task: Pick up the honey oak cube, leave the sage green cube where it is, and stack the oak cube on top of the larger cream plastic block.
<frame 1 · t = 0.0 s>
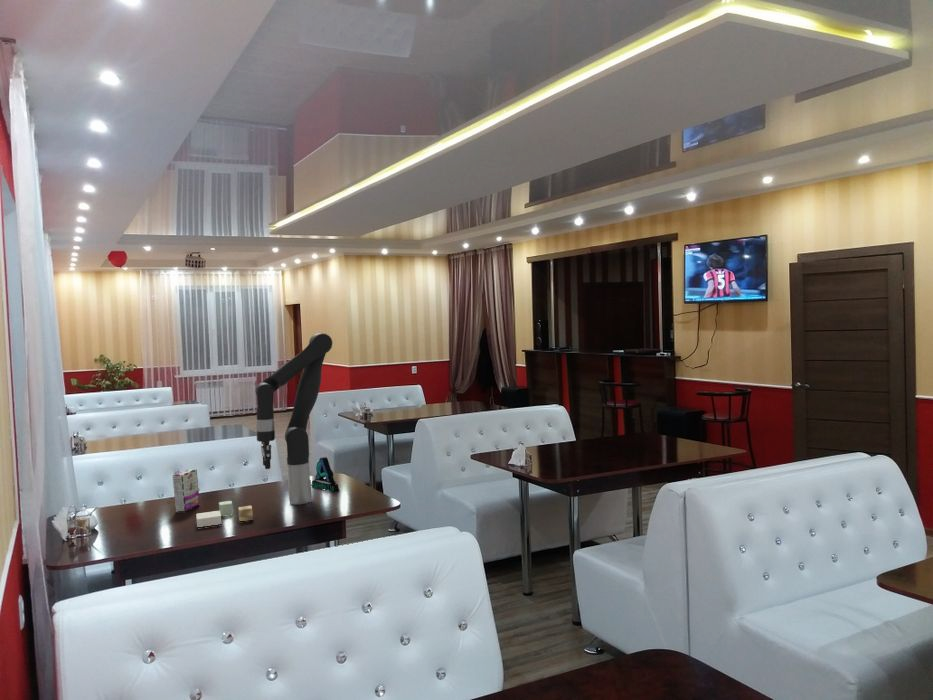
hand: (266, 467, 303), 17 cm above the table, tool pointing down, fingers open, 8 cm apart
cream block: (209, 524, 282), on the table
candy bar box: (187, 509, 307), on the table
decorative sign: (325, 489, 330), on the table
oak cube: (246, 519, 285), on the table
sage cube: (226, 514, 294), on the table
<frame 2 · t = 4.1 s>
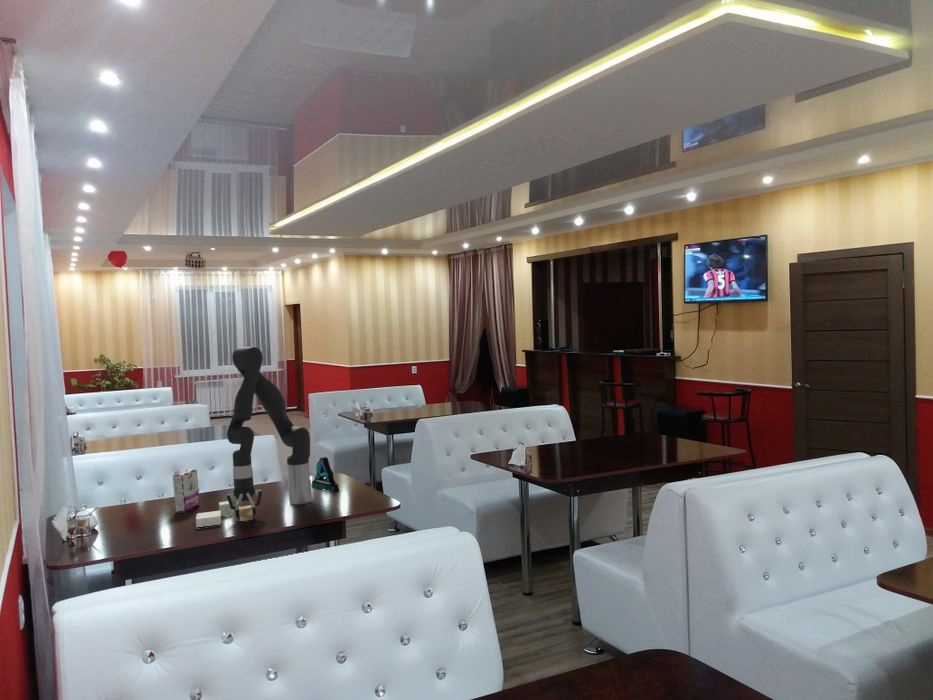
hand: (245, 517, 285), 1 cm above the table, tool pointing down, fingers closed on oak cube, 5 cm apart
oak cube: (246, 519, 285), on the table, touching gripper
everything else where it was.
when the fingers open (6 cm above the table, at t = 8.9 s): oak cube drops 1 cm, resting on cream block.
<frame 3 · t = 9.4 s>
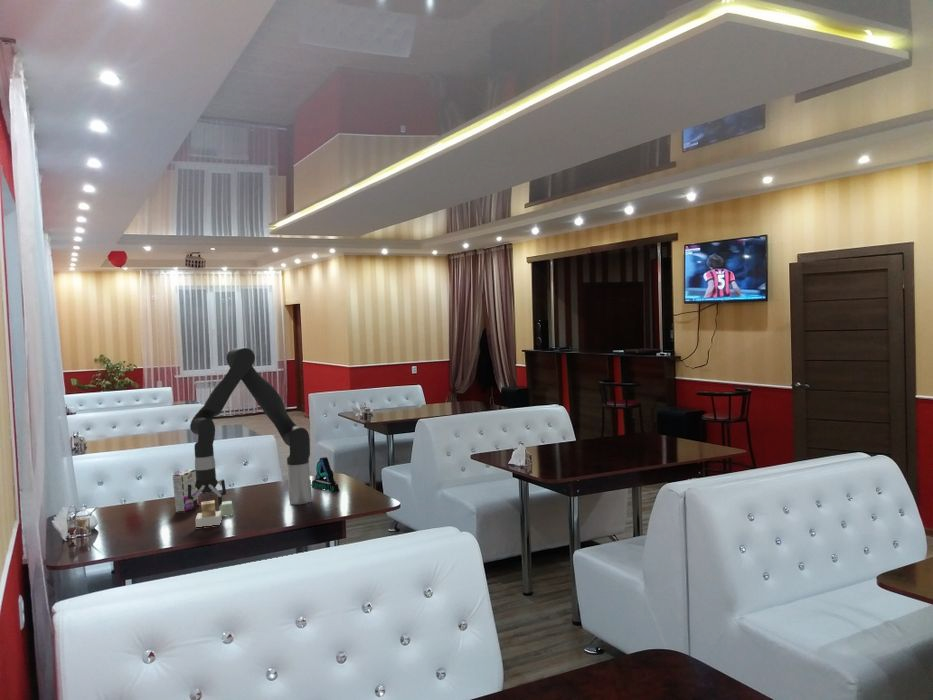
hand: (208, 507, 281), 7 cm above the table, tool pointing down, fingers open, 8 cm apart
cream block: (209, 524, 282), on the table, touching oak cube
oak cube: (208, 514, 281), point 4 cm above the table, touching cream block
everything else where it was.
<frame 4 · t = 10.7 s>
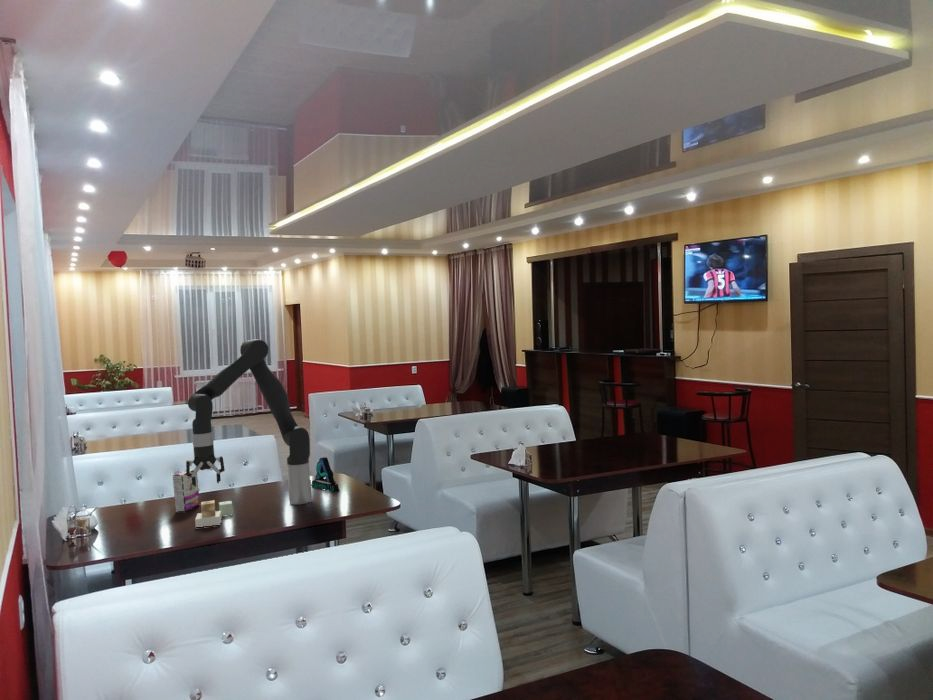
hand: (206, 484, 281), 16 cm above the table, tool pointing down, fingers open, 8 cm apart
cream block: (209, 524, 282), on the table
oak cube: (208, 514, 281), point 4 cm above the table
everything else where it was.
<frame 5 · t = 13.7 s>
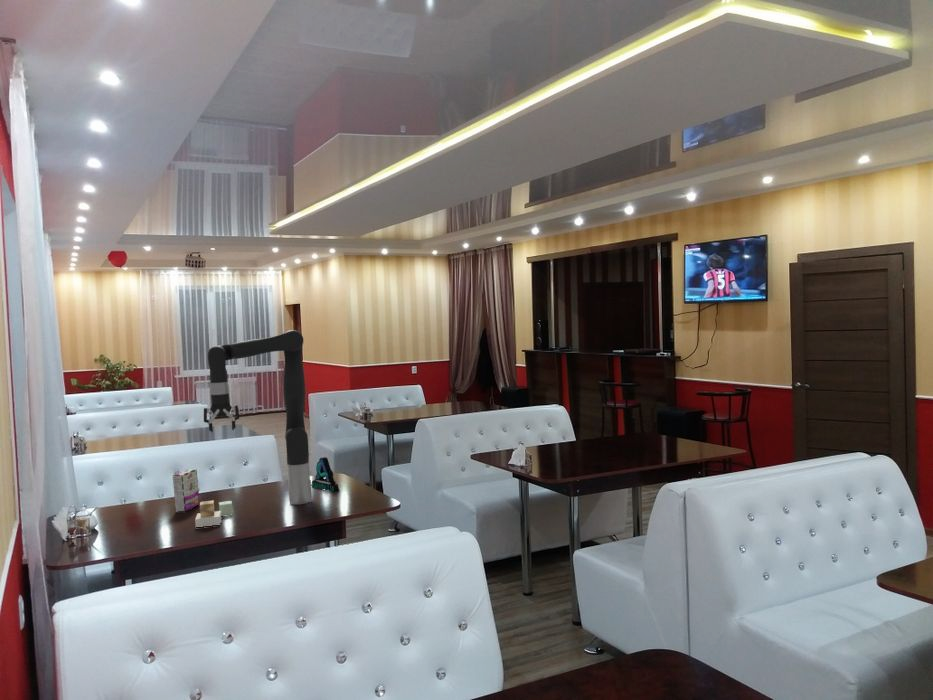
hand: (222, 430, 300), 34 cm above the table, tool pointing down, fingers open, 8 cm apart
nothing on the table moved.
at the end: oak cube 0.2 cm off-centre on the cream block, point 4.0 cm above the cream block's base; oak cube tilted 0°; the gripper is holding nothing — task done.
